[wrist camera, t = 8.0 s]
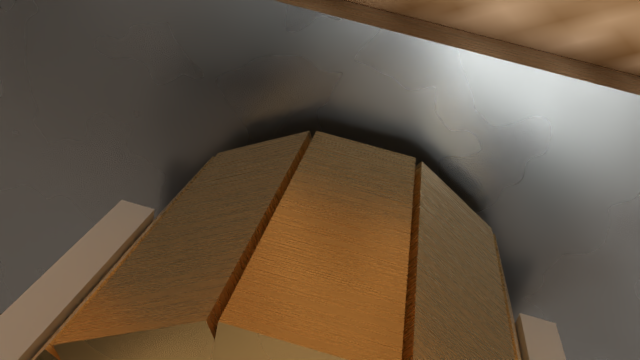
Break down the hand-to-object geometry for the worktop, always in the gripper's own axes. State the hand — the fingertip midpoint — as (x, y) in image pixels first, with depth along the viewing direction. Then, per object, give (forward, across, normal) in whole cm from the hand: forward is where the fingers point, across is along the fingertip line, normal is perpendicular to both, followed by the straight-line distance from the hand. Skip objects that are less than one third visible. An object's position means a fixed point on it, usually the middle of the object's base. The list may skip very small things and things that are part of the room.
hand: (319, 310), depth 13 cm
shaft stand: (+3, 0, 0) cm, 3 cm away
